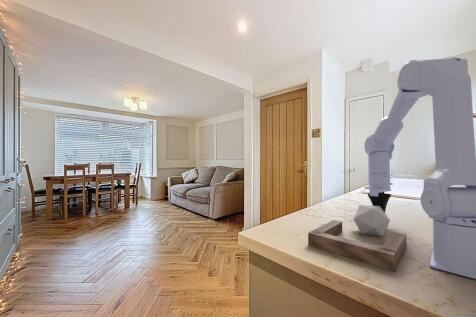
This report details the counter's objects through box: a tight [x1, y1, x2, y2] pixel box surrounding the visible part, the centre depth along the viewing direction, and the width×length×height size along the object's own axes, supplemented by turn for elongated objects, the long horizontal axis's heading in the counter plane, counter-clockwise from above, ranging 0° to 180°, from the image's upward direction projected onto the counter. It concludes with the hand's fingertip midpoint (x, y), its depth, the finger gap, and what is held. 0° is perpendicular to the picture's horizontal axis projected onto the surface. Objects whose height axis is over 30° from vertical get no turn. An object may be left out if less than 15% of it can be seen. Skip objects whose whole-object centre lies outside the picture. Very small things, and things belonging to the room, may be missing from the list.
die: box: [353, 204, 391, 237], centre depth 59 cm, size 8×9×10 cm
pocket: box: [307, 219, 408, 272], centre depth 50 cm, size 17×16×3 cm
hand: (379, 216), depth 66 cm, fingers closed
